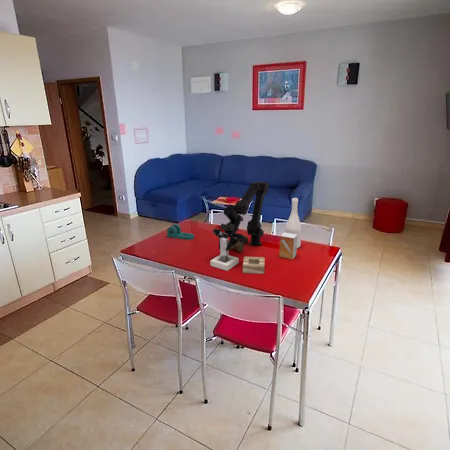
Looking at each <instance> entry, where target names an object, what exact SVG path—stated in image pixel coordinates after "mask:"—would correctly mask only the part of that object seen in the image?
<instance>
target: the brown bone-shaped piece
mask: <svg viewBox="0 0 450 450" xmlns="http://www.w3.org/2000/svg"><path fill="white" fill-rule="evenodd" d="M243 236H244V237H245V238H246V241H245V243H241V242H240V241H238V242H239V243H237V244H235V245H234V246H233V247H231V248H230V249H229V250H228V251H231V250H236V251H237V252H239V253H242V252H243V250H244V245H245V244H247V243H249V238H248V236H247V235H243ZM229 241H230V239H228V244H229Z"/></svg>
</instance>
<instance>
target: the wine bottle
mask: <svg viewBox="0 0 450 450" xmlns="http://www.w3.org/2000/svg"><path fill="white" fill-rule="evenodd" d="M298 205H299V199H298V198H297V197H293V198H291V212H290V215H289V217H288V219H287V223H286V225H285V229H284V232H285V233H291V234H297V249H299V248H300V247H301V245H302V244H301V243H302V223H301V220H300V217H299V212H298Z"/></svg>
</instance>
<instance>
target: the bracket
mask: <svg viewBox="0 0 450 450" xmlns="http://www.w3.org/2000/svg"><path fill="white" fill-rule="evenodd" d="M166 237H167V238H169V237H173V238H172V239H176V238H179V239H178V240H183V239H186V240H185V241H192V240H194V239H195V234H193V233H189V232H183V231H182V228H181V226H180V225H179V224H177V223H174V224H172V225H171V226H169V227H168V228H167V229H166ZM191 239H192V240H191Z"/></svg>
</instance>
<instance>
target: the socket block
mask: <svg viewBox="0 0 450 450" xmlns="http://www.w3.org/2000/svg"><path fill="white" fill-rule="evenodd" d="M242 274H260V275H261V274H263V275H264V274H265V257H264V256H263V257H262V256H243V263H242Z"/></svg>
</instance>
